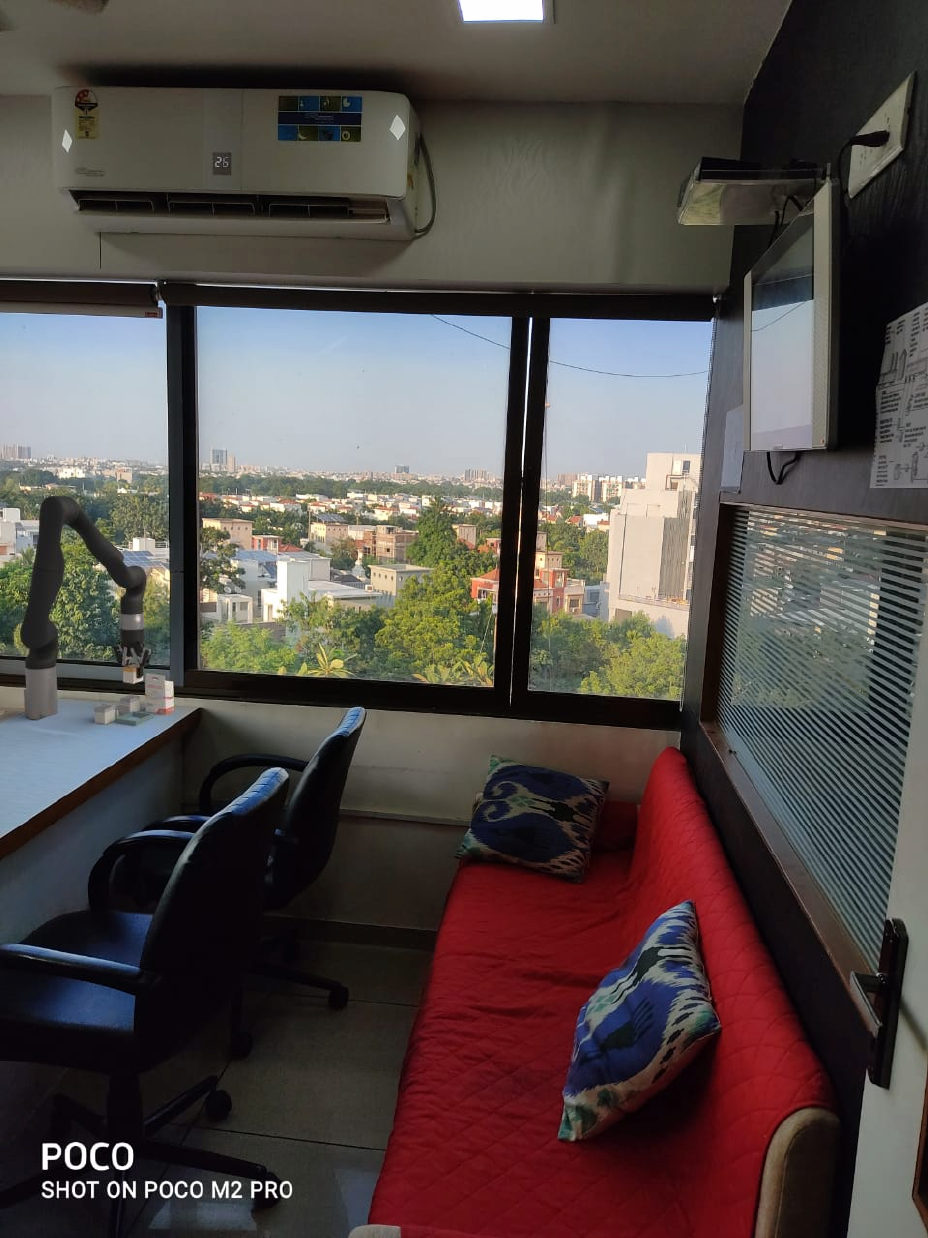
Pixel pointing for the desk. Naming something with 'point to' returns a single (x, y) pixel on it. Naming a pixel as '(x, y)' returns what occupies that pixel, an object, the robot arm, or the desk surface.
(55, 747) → the desk surface
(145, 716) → the tray
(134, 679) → the block
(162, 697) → the ink cartridge box
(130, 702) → the board
